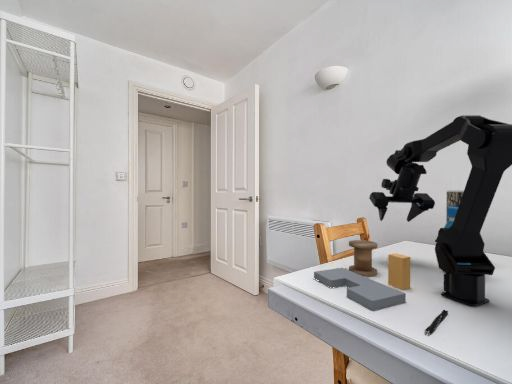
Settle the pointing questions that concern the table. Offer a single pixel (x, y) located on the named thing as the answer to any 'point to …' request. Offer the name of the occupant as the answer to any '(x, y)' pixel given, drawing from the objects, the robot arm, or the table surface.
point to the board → (361, 288)
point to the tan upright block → (399, 271)
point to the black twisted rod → (436, 322)
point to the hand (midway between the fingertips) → (394, 220)
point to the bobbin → (363, 258)
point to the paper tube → (453, 200)
